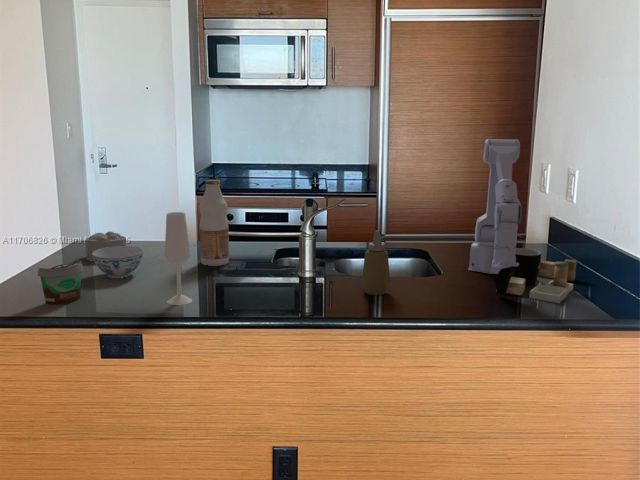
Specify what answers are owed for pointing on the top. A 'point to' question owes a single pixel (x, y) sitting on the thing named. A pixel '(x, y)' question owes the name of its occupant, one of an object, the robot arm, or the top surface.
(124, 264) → the chinaware
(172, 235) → the champagne flute
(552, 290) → the tray
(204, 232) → the fruit juice
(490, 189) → the robot arm
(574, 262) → the bench stop
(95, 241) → the lumpy-topped squat cylinder
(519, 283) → the push block
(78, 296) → the food container
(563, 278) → the dowel
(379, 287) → the squeeze bottle
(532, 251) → the mug
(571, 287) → the collar
